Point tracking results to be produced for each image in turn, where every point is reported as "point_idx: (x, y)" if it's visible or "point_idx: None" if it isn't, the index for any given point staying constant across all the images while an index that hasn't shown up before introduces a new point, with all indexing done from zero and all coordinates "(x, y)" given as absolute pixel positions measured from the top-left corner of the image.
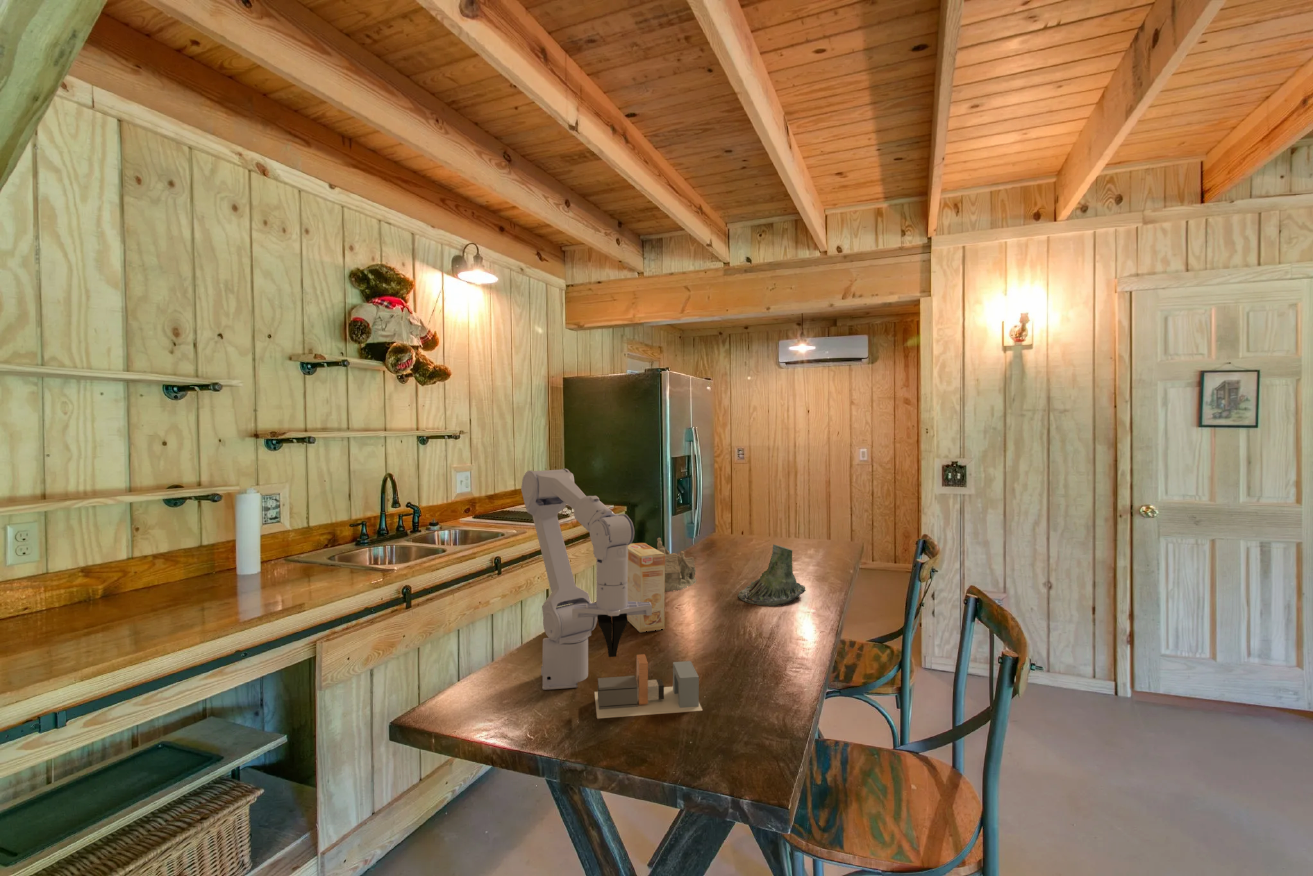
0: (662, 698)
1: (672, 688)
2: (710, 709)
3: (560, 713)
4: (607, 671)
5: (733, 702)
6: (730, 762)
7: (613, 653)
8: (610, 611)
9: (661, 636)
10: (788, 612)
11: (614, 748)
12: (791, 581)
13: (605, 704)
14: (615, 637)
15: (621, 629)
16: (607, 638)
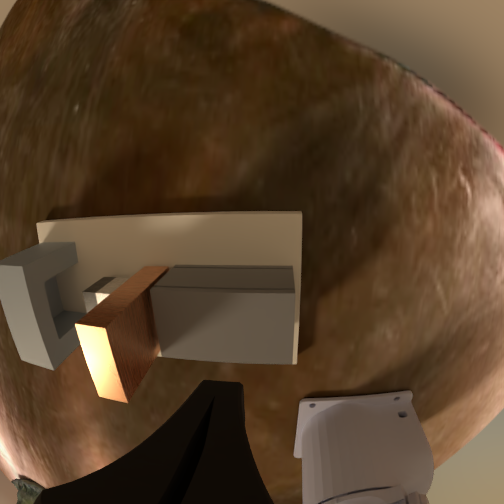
0: (105, 277)
1: None
2: None
3: (394, 285)
4: (252, 447)
5: None
6: (39, 50)
7: (212, 389)
8: None
9: None
10: (18, 465)
11: (256, 78)
12: (18, 495)
13: (271, 270)
14: (170, 456)
15: (96, 485)
16: (234, 461)
